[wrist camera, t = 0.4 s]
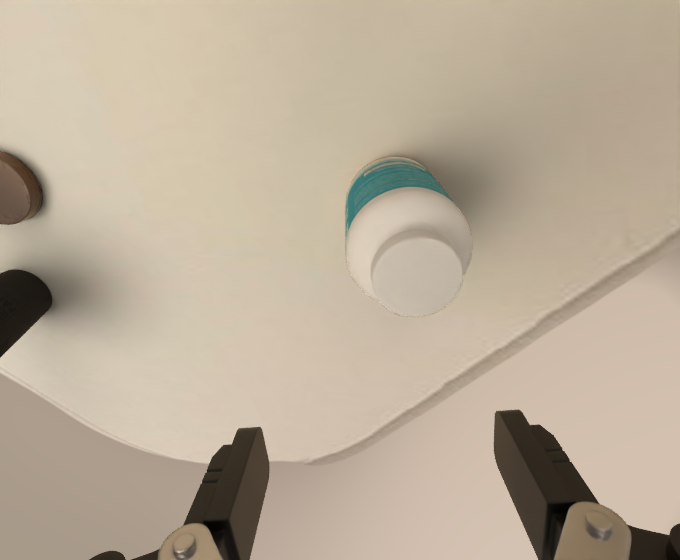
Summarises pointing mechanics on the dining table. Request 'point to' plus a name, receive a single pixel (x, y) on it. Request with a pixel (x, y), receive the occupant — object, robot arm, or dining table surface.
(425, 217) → the pill bottle
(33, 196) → the spoon
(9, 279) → the drinking cup
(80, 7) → the dining table surface
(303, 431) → the dining table surface
